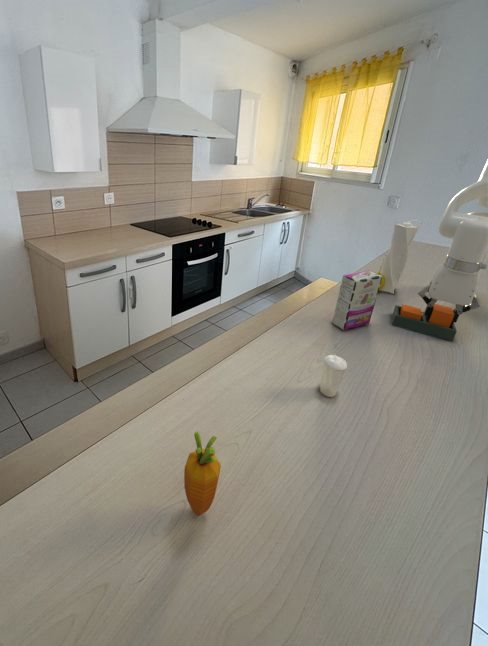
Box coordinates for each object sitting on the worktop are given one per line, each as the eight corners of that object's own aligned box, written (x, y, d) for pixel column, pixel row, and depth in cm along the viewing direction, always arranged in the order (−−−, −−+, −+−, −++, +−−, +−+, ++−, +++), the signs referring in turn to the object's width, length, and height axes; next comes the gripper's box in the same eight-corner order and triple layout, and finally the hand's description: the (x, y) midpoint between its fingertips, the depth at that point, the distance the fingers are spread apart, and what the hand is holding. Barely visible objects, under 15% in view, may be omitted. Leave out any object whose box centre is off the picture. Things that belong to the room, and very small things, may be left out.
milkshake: (337, 385, 74) (347, 349, 70) (339, 401, 69) (350, 364, 66) (316, 380, 75) (325, 344, 72) (316, 396, 71) (326, 359, 67)
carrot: (180, 496, 50) (184, 425, 44) (212, 495, 50) (220, 424, 44) (182, 533, 45) (187, 459, 39) (217, 530, 46) (227, 457, 40)
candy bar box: (355, 316, 104) (369, 269, 98) (369, 324, 100) (384, 276, 94) (330, 322, 100) (342, 274, 93) (343, 331, 96) (357, 281, 89)
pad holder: (392, 314, 107) (395, 305, 105) (448, 328, 100) (453, 319, 98) (392, 325, 100) (395, 315, 99) (452, 341, 93) (456, 331, 92)
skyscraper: (398, 289, 126) (422, 218, 115) (398, 296, 119) (423, 222, 108) (374, 283, 130) (395, 214, 119) (372, 290, 123) (394, 218, 112)
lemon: (377, 289, 125) (383, 270, 122) (384, 295, 120) (390, 276, 116) (363, 288, 125) (368, 269, 122) (369, 294, 120) (374, 274, 117)
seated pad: (398, 316, 105) (402, 304, 103) (416, 321, 102) (421, 308, 100) (398, 323, 101) (402, 310, 99) (417, 328, 98) (422, 315, 96)
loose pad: (427, 315, 101) (432, 303, 99) (446, 320, 98) (452, 307, 97) (428, 322, 97) (433, 309, 95) (448, 328, 94) (454, 314, 93)
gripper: (497, 267, 89) (471, 323, 96) (423, 254, 97) (405, 307, 104) (504, 276, 83) (476, 335, 90) (425, 261, 91) (405, 317, 98)
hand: (438, 319), depth 97 cm, fingers closed on loose pad, 5 cm apart
